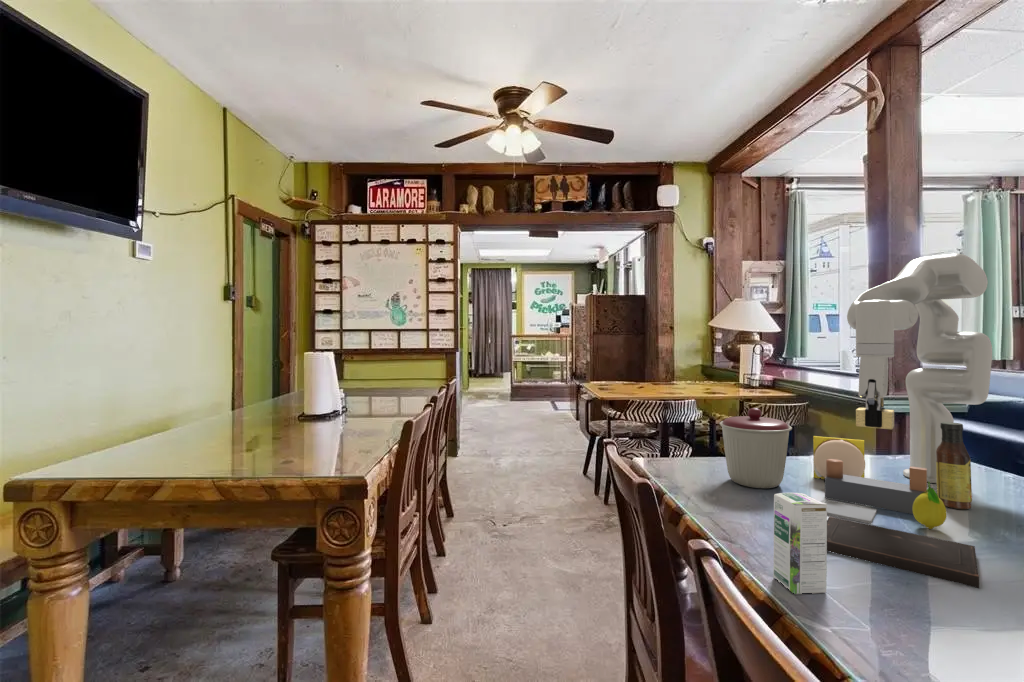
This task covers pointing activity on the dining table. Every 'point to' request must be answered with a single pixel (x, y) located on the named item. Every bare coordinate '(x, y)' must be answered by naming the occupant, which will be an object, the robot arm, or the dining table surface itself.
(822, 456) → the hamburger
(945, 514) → the lemon
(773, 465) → the canister
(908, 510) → the plane body
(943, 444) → the sauce bottle
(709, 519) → the dining table surface
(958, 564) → the hardcover book
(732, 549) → the dining table surface
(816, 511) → the syrup box
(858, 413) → the tan rectangular block
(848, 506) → the mat
